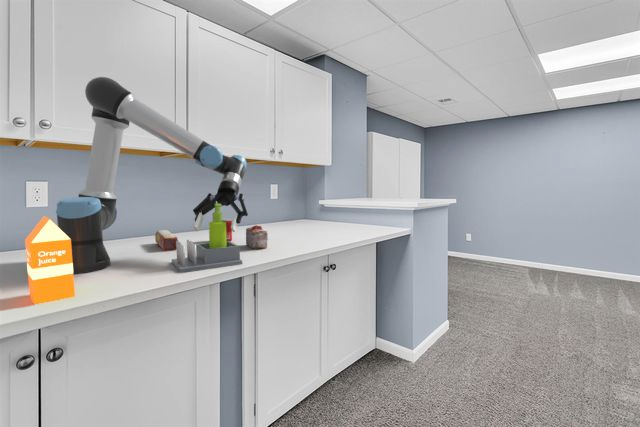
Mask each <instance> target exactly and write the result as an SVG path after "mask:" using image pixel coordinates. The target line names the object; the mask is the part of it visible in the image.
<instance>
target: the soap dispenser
mask: <svg viewBox="0 0 640 427" xmlns="http://www.w3.org/2000/svg"><path fill="white" fill-rule="evenodd" d="M214 205H215V208H214V212H212V221H211V222H208V235H209V236H208V238H209V242H208V243H210V249H212V248H221V247H227V242H226V222H222V218H223V212H222V211H221V207H223V206H222V205H221V204H217V203H216V204H214Z"/></svg>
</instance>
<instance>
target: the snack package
mask: <svg viewBox="0 0 640 427" xmlns="http://www.w3.org/2000/svg"><path fill="white" fill-rule="evenodd" d="M154 236H155V237H154V238H155V243H156V244H157V245H158V246H159V247H160V248H161V249H162V251H164V252H170V251H171V252H172V251H177V249H176V241H179V237H177V236H176V235H175V234H173V233H172V232H170V231H169V230H168V229H160V230H158V231H156V232H155V235H154Z"/></svg>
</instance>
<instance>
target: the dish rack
mask: <svg viewBox="0 0 640 427" xmlns="http://www.w3.org/2000/svg"><path fill="white" fill-rule="evenodd" d="M226 242H227V247H221V248H212V249H210V243H209V242H205V243H194V242H192V241H191V240H190V239H187V240H186V246H185V244H183V243H181V241H179V240H178V241H176V258H172V259H171V264H172V265H173V266H174V267H175V269H176V270H177V271H178V272H179V273H180V274H182V273H183V274H184V273H191V272H198V271H204V270H210V269H218V268H224V267H232V266H239V265H243V260H242V259H241V257H240V256H241V252H240V250H241V249H240V248H241V247H240V245H238V244H237V243H235V242H232V241H226ZM185 247H186V248H185ZM186 255H187V256H186Z"/></svg>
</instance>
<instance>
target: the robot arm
mask: <svg viewBox="0 0 640 427" xmlns="http://www.w3.org/2000/svg"><path fill="white" fill-rule="evenodd" d="M84 91H85V97H86V99H87V102H88V103H89V105H91V107H92V109H91V110H92V111H91V119H92V121H93V122H94V123H95V126H94V130H93V138H92V143H91V144H92V145H91V149H90V157H89V161H88V162H89V163H88V170H87V175H86V181H85V186H84V189H82V190H81V191H79V193H78V197H77V196H76V197H68V198H64V199H63V198H62V199H61V200H58V202H57V203H56V210H55V213H56V221H57V223H56V224H57V226H58V227H59V228H60V229H61V230H62V231H63V232H64V233H65V234H66V235H67V236H68V237H69V238H70V239H71V248H72V263H73V275H74V274H84V273H88V272H89V273H90V272H95V271H100V270H103V269H106V268H108V267H110V266H111V258H110V255H109V252H108V251H107V248H106V246H105V245H104V238H103V237H104V236H103V231H104V230H106V229H109V228H110V227H111V226H112V225H113V224H114V223H115V221H116V220H117V217H118V209H117V207H116V206H117V199H118V198H117V196H116V195H115V194H114V189H115V183H116V175H117V171H118V164H119V158H120V153H121V148H122V147H121V146H122V139H123V136H124V135H123V134H124V130H126V129H127V128H129V126H130V123H131V124H134V125H135V126H136V127H139V128H140V129H142V130H144V131H145V132H147V133H149V134H150V135H152V136H154V137H155V138H157V139H159V140H161V141H163V142H164V143H166V144H167V145H169V146H170V147H173V148H174V149H176V150H178V151H180V152H181V153H183V154H185V155H187V156H188V157H190V158H192V159H193V160H195V162H194V163H195V164H197V165H199V166H201V167H203V168H206V169H208V170H211V171H214V172H217V173H219V174H221V175H223V176H222V177H221V181H220V183H219V186H218V187H217V188H218V189H217V192H216V194H212V193H210V192H209V193H207V196H206V197H205V198H204V199H203V200H202V201H201V202H199V204H197V206H196V207H194V209H192V211H193V214H195V218H194V224H193V228H194V230H195V232H199V230H200V228H201V225H202V223H203V220H204V219H205V216H206V214H207V213H209V212H211V211H213V210H215V205H214V204H221V205H222V207H223V206H225V207H228V206H230V207H231V208H232V209H233V210H234V212H235V213H234V217H233V220H232V225H231V229H232V233H236V230H237V227H238V225H239V224H240V223H241V222H242V218H243V217H248V216H249V214H248V211H247V207H246V205H245V196H244V195H243V193H239V190H240V187H241V185H242V181H243V178H244V176H245V173H246V171H247V170H246V169H247V167H248V166H247V165H248V164H247V163H248V162H247V160H246V158H245V157H243V156H242V155H239V154H238V155H236V154H233V155H232V156H227V155H225V154H223V153H222V151H221V149H219V148H218V147H217V146H213V145H211V144H210V143H209V142H207V141H205V140H204V139H202V138H201V137H198V136H197V135H196V134H194V133H192V132H190V131H188V130H187V129H185V128H184V127H183V126H180V125H179V124H177V123H175V122H174V121H172V120H171V119H169V118H168V117H166V116H164V115H163V114H161V113H159V112H158V111H156V110H154V108H153V109H152V107H149V106H148V105H146V104H145V103H143V102H141V101H140V100H138V99H136V96H135V94H134V93H132V92H131V91H129V90H128V89H126V88H125V87H124V86H122V85H121V84H120V83H119V82H117V81H116V80H114V79H112V78H110V77H106V76H97V77H95V78H92V79H90V81H88V83H87V84H86V86H85V90H84ZM237 200H238V201H239V203H240V206H241V208H242V210H241V209H240V208H239V207H238V205H237V204H236V203H235V202H236V201H237ZM204 215H205V216H204Z"/></svg>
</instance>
